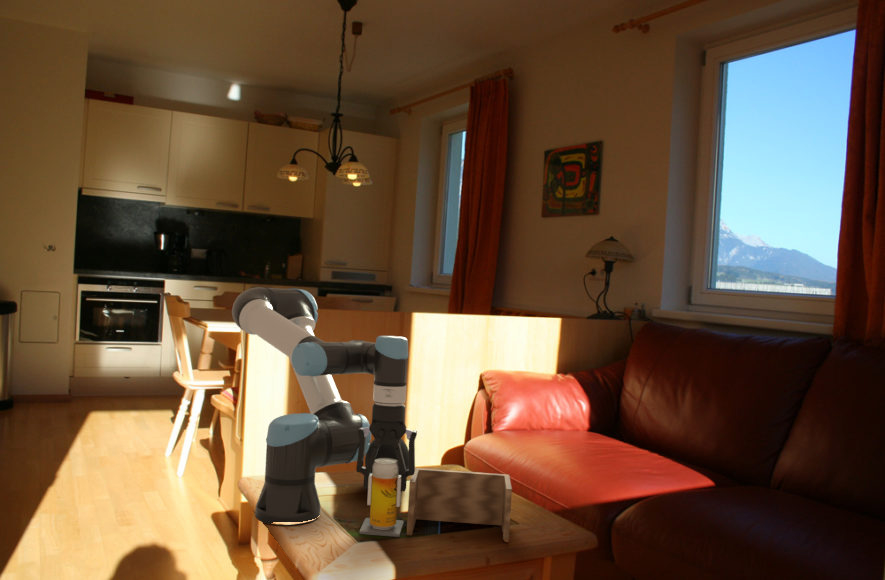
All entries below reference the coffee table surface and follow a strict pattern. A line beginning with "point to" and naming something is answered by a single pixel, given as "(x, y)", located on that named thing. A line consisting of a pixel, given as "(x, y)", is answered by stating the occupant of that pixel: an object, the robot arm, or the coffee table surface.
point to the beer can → (384, 493)
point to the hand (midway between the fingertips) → (384, 504)
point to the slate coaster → (370, 530)
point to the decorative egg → (388, 453)
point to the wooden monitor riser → (460, 498)
